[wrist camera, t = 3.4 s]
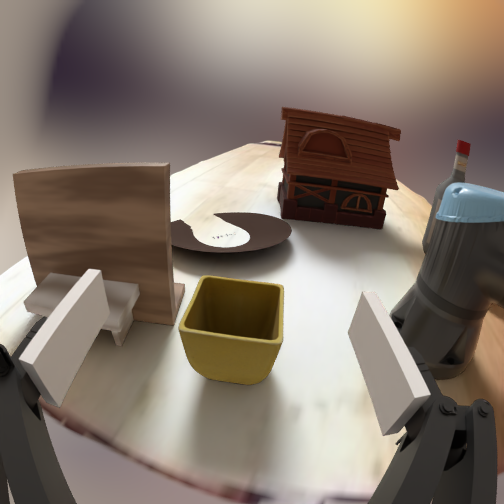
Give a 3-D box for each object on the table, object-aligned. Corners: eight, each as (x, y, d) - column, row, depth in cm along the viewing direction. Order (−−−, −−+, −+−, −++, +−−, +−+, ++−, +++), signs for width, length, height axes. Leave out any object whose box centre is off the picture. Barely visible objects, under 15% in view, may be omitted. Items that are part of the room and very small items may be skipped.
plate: (242, 208, 79) (242, 196, 77) (316, 250, 59) (319, 234, 57) (142, 226, 63) (141, 211, 62) (192, 287, 44) (191, 266, 42)
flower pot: (269, 403, 26) (283, 343, 22) (184, 390, 26) (176, 328, 22) (273, 344, 34) (284, 284, 30) (203, 335, 34) (201, 273, 30)
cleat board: (161, 365, 29) (138, 183, 20) (20, 331, 28) (-24, 191, 19) (185, 290, 42) (183, 154, 33) (66, 276, 41) (47, 160, 32)
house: (273, 224, 70) (286, 104, 56) (269, 193, 95) (278, 108, 82) (400, 237, 70) (422, 133, 57) (366, 205, 95) (380, 126, 82)
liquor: (454, 264, 58) (485, 148, 44) (423, 255, 61) (452, 136, 48) (448, 251, 65) (474, 147, 52) (420, 242, 69) (444, 136, 55)
